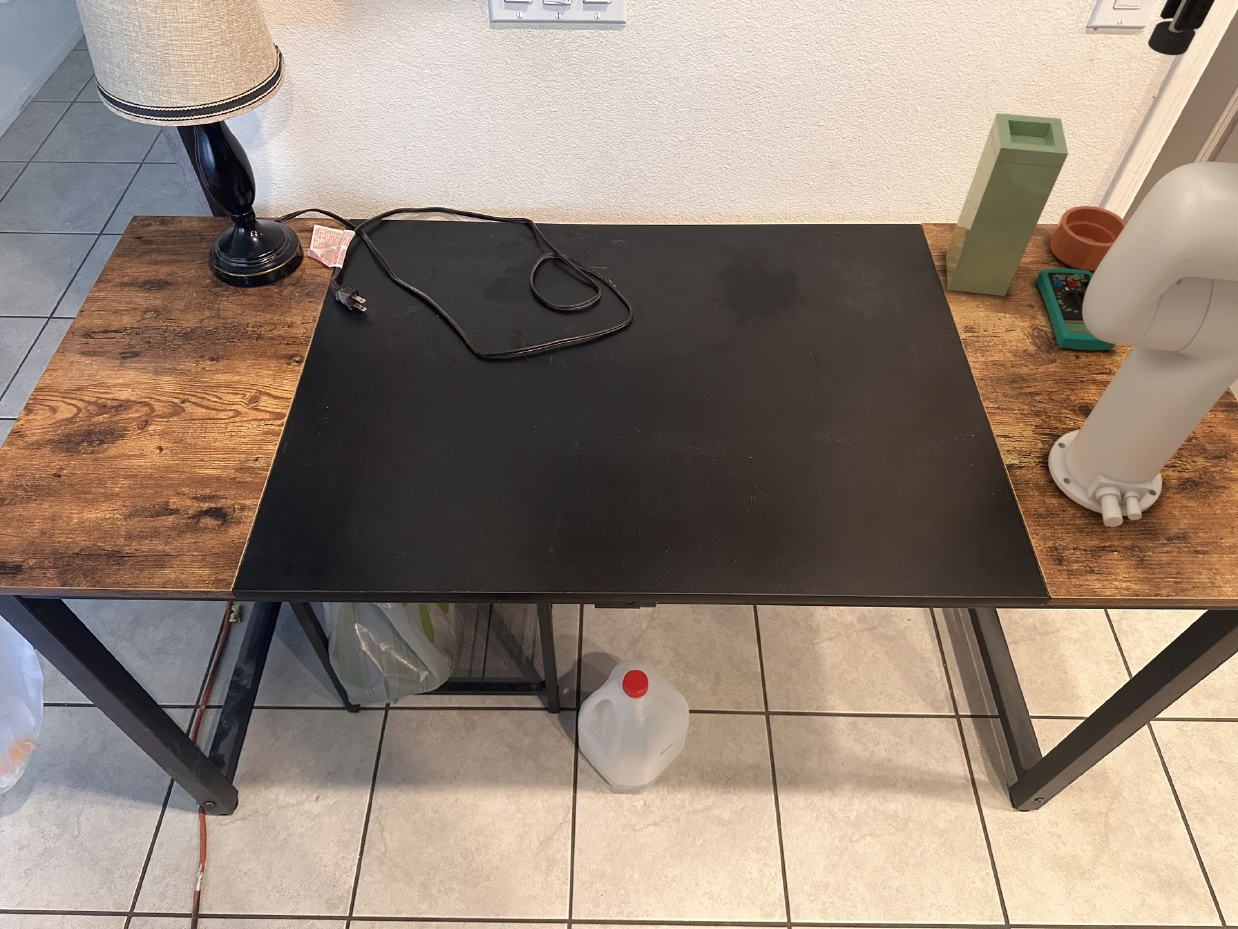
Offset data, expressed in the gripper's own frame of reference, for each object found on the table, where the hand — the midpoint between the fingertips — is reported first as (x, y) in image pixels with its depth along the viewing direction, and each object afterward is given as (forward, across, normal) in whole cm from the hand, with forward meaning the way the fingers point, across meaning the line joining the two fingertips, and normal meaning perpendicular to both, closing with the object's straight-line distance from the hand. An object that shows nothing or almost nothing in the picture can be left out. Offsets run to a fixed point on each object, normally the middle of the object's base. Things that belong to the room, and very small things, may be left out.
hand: (1180, 21), depth 101 cm
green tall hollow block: (+35, +2, -15) cm, 38 cm away
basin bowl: (+35, 0, +3) cm, 35 cm away
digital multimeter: (+35, +12, -5) cm, 37 cm away
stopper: (+3, 0, 0) cm, 3 cm away
